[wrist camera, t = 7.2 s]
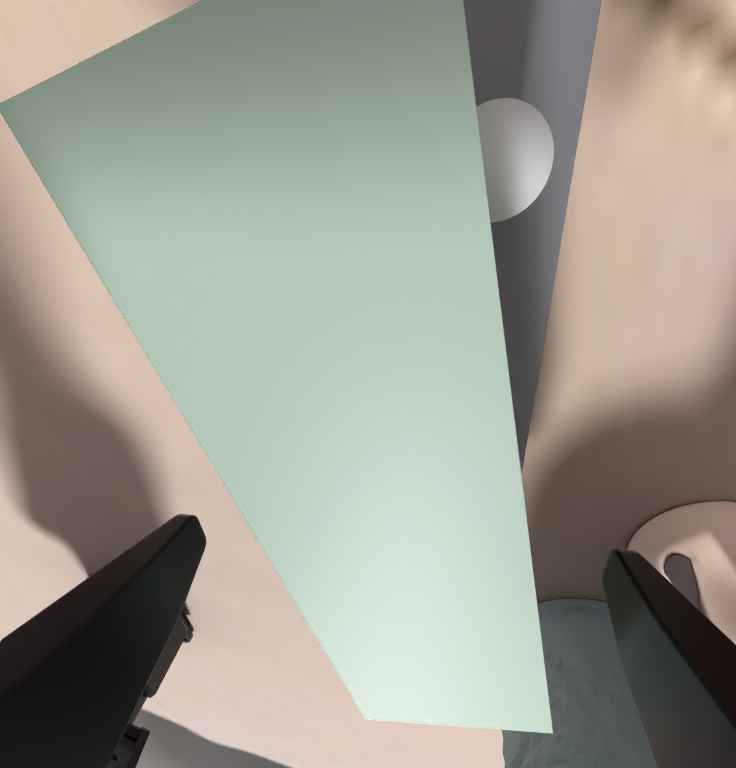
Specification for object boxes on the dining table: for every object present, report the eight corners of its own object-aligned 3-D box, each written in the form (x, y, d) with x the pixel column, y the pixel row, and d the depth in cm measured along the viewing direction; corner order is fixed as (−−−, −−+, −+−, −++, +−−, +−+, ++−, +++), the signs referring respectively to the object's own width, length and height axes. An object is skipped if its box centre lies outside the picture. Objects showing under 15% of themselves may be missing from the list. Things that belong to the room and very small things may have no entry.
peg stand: (331, 537, 21) (304, 633, 17) (241, 35, 11) (114, -43, 7) (502, 552, 20) (520, 661, 15) (591, -16, 9) (722, -163, 5)
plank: (377, 629, 16) (365, 719, 13) (142, 121, 8) (-4, 105, 5) (532, 630, 14) (553, 733, 12) (443, -9, 6) (448, -125, 4)
